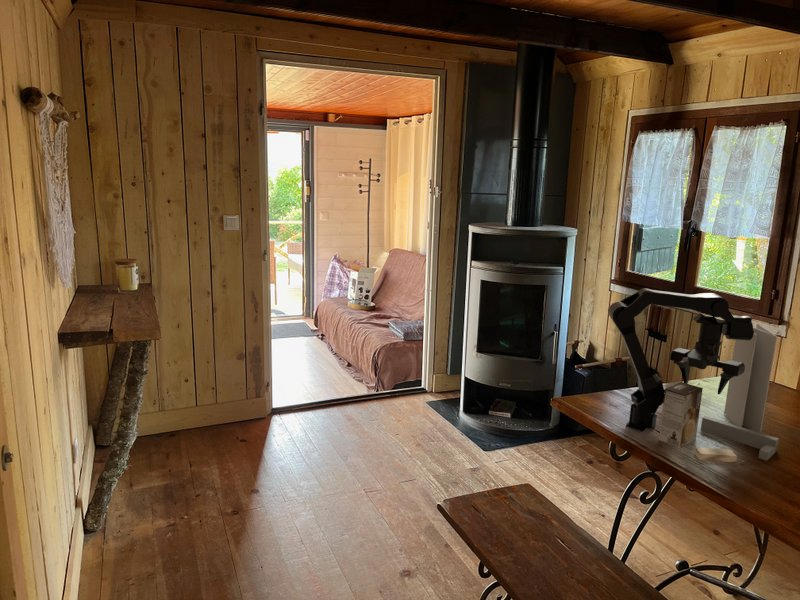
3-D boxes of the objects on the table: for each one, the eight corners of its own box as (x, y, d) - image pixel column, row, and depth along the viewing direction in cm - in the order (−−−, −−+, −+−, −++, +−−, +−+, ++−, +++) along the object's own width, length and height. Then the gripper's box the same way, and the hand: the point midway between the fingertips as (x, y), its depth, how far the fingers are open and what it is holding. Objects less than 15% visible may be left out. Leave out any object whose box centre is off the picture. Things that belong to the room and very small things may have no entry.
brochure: (760, 434, 170) (777, 336, 164) (739, 432, 171) (755, 335, 165) (743, 415, 184) (757, 323, 177) (724, 413, 185) (738, 322, 178)
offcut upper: (699, 459, 152) (700, 453, 152) (694, 453, 156) (695, 447, 155) (735, 462, 152) (736, 456, 151) (729, 455, 155) (730, 449, 155)
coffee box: (673, 433, 169) (680, 380, 165) (696, 441, 164) (703, 387, 161) (657, 441, 163) (664, 388, 160) (680, 450, 159) (688, 395, 155)
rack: (691, 439, 167) (693, 423, 165) (702, 431, 172) (705, 415, 171) (766, 464, 153) (769, 447, 152) (775, 455, 158) (778, 438, 157)
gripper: (664, 335, 167) (657, 386, 171) (734, 351, 154) (726, 406, 157) (680, 329, 175) (674, 378, 178) (749, 343, 161) (740, 396, 165)
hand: (702, 389), depth 169 cm, fingers open, 9 cm apart
